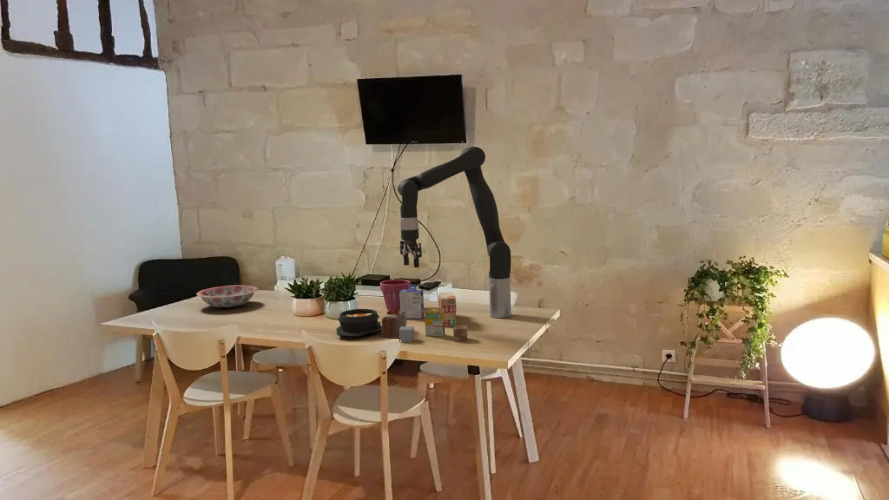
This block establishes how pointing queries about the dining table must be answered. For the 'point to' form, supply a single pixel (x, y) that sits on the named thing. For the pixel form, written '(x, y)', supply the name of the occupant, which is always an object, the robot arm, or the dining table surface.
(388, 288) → the plant pot
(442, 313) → the crayon box
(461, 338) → the walnut block
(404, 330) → the slate-grey block
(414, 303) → the ink cartridge box
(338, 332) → the casserole
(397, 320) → the food item
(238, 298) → the ceramic bowl
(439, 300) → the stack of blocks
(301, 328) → the dining table surface
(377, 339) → the dining table surface
